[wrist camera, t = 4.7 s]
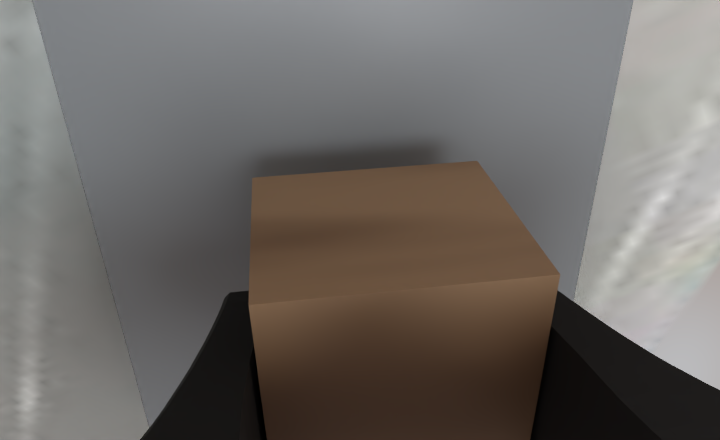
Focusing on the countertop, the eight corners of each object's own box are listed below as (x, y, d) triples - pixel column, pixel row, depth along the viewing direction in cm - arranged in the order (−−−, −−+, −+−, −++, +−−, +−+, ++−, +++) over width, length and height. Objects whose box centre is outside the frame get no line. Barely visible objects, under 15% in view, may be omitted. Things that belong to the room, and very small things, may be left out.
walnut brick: (460, 348, 15) (520, 492, 11) (274, 368, 14) (278, 526, 11) (476, 160, 12) (560, 274, 9) (252, 177, 12) (248, 305, 8)
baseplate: (543, 363, 19) (556, 386, 19) (156, 407, 18) (151, 434, 17) (616, -44, 13) (640, -39, 13) (44, -23, 12) (28, -14, 11)
